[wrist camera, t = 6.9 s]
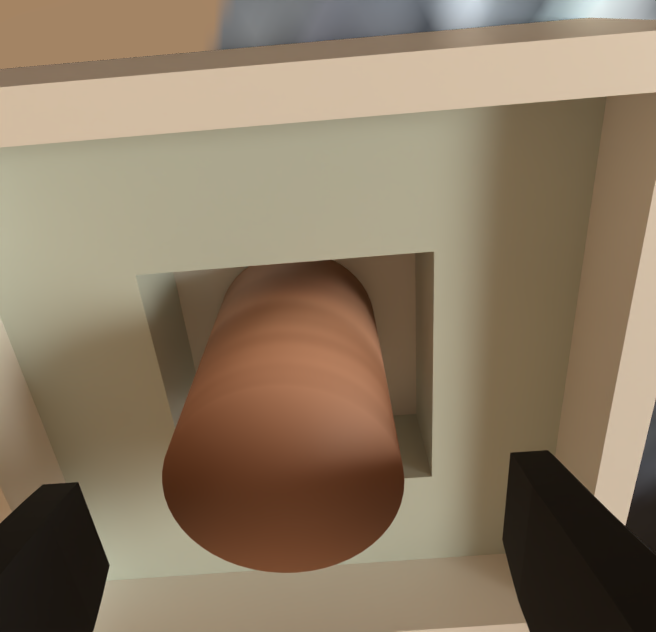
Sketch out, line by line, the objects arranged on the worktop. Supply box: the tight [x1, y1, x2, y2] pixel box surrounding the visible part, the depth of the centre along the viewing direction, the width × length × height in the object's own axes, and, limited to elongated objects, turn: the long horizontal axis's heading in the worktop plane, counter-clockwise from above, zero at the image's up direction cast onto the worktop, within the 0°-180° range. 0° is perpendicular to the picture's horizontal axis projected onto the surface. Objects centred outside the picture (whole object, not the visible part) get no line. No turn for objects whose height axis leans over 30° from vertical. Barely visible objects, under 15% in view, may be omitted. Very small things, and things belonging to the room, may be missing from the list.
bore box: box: [0, 18, 656, 632], centre depth 13 cm, size 14×14×5 cm
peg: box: [162, 260, 405, 573], centre depth 12 cm, size 4×4×6 cm
